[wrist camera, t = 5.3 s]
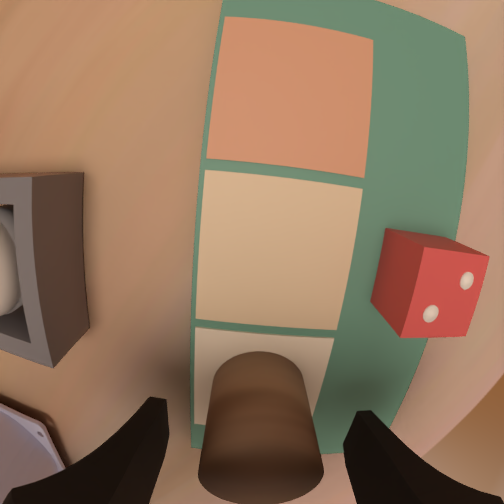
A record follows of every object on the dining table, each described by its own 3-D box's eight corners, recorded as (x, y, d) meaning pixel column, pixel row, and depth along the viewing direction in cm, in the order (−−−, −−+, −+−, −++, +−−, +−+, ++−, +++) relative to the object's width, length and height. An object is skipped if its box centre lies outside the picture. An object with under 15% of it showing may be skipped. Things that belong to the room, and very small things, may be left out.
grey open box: (89, 327, 13) (53, 368, 9) (-8, 302, 13) (-46, 328, 9) (83, 172, 11) (32, 176, 8) (-19, 175, 11) (-67, 182, 7)
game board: (374, 442, 15) (392, 487, 11) (192, 439, 15) (183, 491, 11) (458, 40, 9) (504, 17, 6) (228, -17, 9) (221, -69, 5)
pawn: (294, 420, 13) (308, 504, 8) (211, 415, 13) (198, 500, 8) (311, 354, 12) (338, 443, 7) (214, 346, 12) (197, 438, 7)
